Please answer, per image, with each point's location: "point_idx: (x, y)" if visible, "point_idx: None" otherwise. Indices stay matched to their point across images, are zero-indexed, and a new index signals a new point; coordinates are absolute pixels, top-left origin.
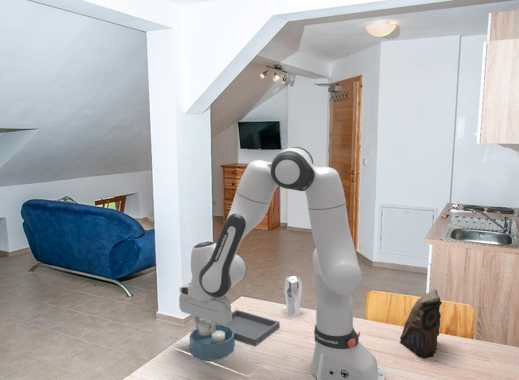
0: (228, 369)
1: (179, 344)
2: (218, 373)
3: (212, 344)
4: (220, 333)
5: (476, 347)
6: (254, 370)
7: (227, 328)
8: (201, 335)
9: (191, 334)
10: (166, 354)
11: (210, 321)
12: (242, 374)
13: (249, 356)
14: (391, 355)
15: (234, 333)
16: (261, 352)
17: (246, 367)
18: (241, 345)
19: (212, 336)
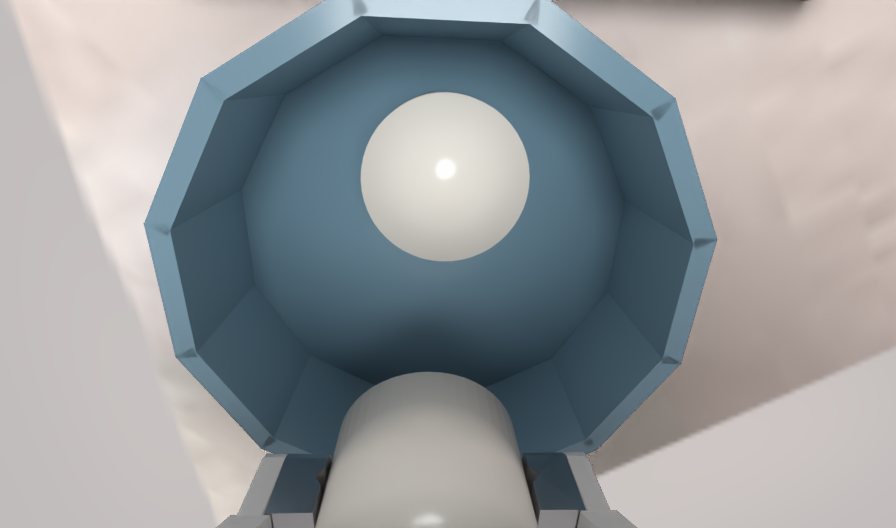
0: (691, 380)
1: (147, 316)
2: (649, 437)
3: (571, 449)
4: (467, 167)
5: None
6: (873, 308)
7: (498, 25)
8: (227, 193)
9: (246, 417)
10: (202, 448)
11: (476, 519)
12: (802, 378)
13: (787, 169)
14: None
15: (671, 114)
16: (883, 47)
17: (806, 306)
18: (646, 33)
19: (413, 250)
